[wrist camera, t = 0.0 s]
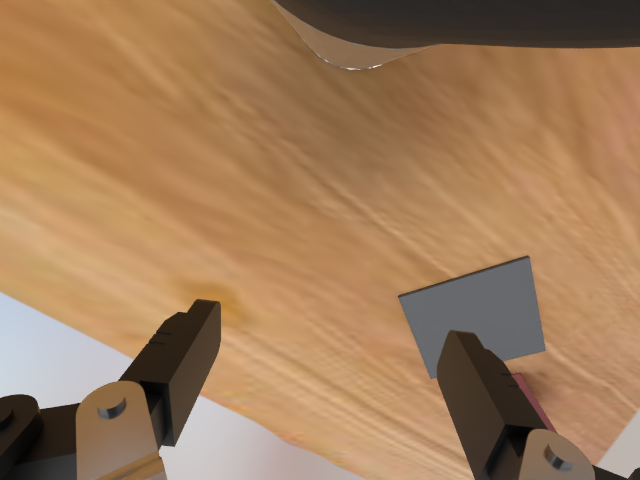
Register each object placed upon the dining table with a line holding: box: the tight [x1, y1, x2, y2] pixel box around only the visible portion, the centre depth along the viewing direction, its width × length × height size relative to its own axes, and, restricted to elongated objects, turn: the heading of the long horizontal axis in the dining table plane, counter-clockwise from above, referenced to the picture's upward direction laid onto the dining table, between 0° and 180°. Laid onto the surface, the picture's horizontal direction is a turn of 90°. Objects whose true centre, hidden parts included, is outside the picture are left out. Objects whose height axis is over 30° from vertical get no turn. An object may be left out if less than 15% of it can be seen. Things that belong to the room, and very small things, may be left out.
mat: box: [398, 256, 546, 379], centre depth 32 cm, size 12×12×1 cm
